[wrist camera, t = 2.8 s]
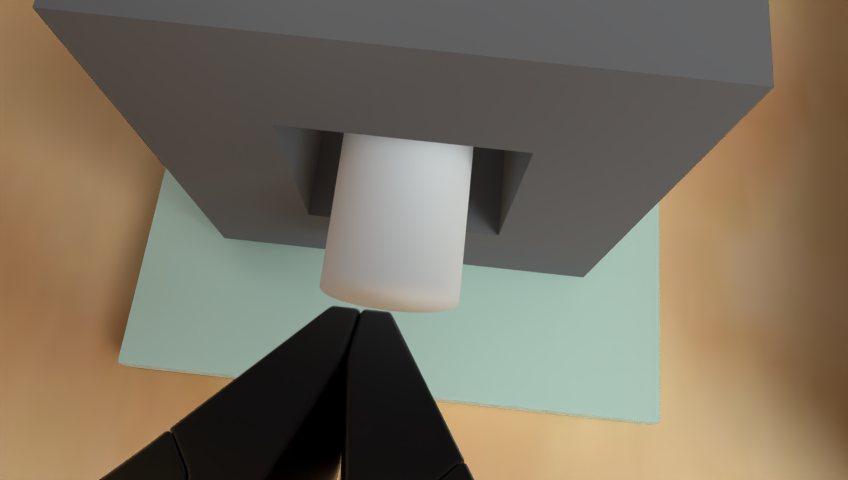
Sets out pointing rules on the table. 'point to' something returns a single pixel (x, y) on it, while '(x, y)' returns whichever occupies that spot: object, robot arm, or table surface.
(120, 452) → the table surface
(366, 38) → the grey arch frame
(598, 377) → the pipe rig
